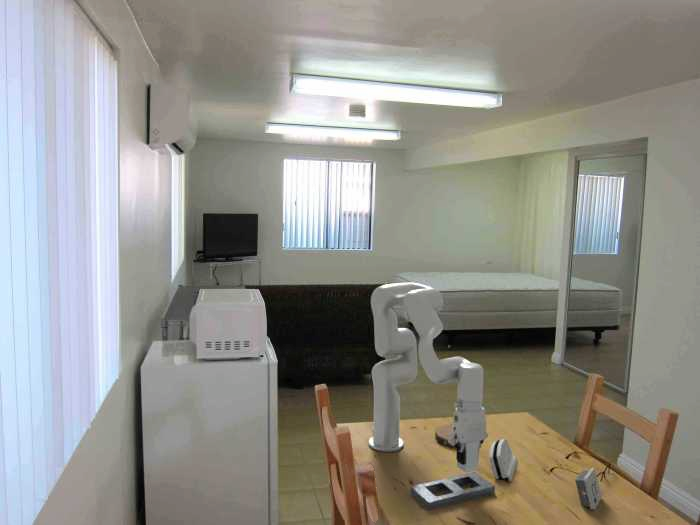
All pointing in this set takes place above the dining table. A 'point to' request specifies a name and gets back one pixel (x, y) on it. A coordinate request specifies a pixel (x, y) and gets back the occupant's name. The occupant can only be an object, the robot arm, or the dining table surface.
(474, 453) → the steel block
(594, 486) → the electrical switch
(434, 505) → the grey tray with holes
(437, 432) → the wood slice
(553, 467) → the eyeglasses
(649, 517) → the dining table surface
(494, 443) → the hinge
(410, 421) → the dining table surface
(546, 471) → the dining table surface
